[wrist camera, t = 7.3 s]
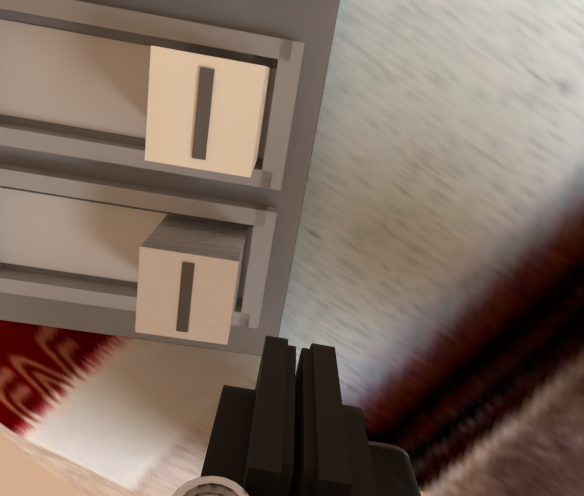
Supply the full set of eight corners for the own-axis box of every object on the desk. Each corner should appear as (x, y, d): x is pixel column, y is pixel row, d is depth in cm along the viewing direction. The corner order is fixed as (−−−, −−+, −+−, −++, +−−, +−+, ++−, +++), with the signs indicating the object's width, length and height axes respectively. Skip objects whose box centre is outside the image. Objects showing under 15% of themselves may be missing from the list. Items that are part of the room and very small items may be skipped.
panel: (370, -183, 18) (402, -282, 13) (275, 343, 27) (272, 405, 22) (-66, -279, 17) (-216, -429, 12) (-20, 301, 26) (-96, 357, 21)
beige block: (247, 227, 23) (238, 262, 18) (237, 297, 24) (227, 346, 20) (167, 214, 23) (139, 247, 18) (161, 286, 24) (134, 333, 20)
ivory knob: (270, 68, 20) (265, 66, 16) (257, 157, 22) (250, 178, 17) (179, 51, 20) (150, 45, 16) (172, 143, 21) (143, 160, 17)
